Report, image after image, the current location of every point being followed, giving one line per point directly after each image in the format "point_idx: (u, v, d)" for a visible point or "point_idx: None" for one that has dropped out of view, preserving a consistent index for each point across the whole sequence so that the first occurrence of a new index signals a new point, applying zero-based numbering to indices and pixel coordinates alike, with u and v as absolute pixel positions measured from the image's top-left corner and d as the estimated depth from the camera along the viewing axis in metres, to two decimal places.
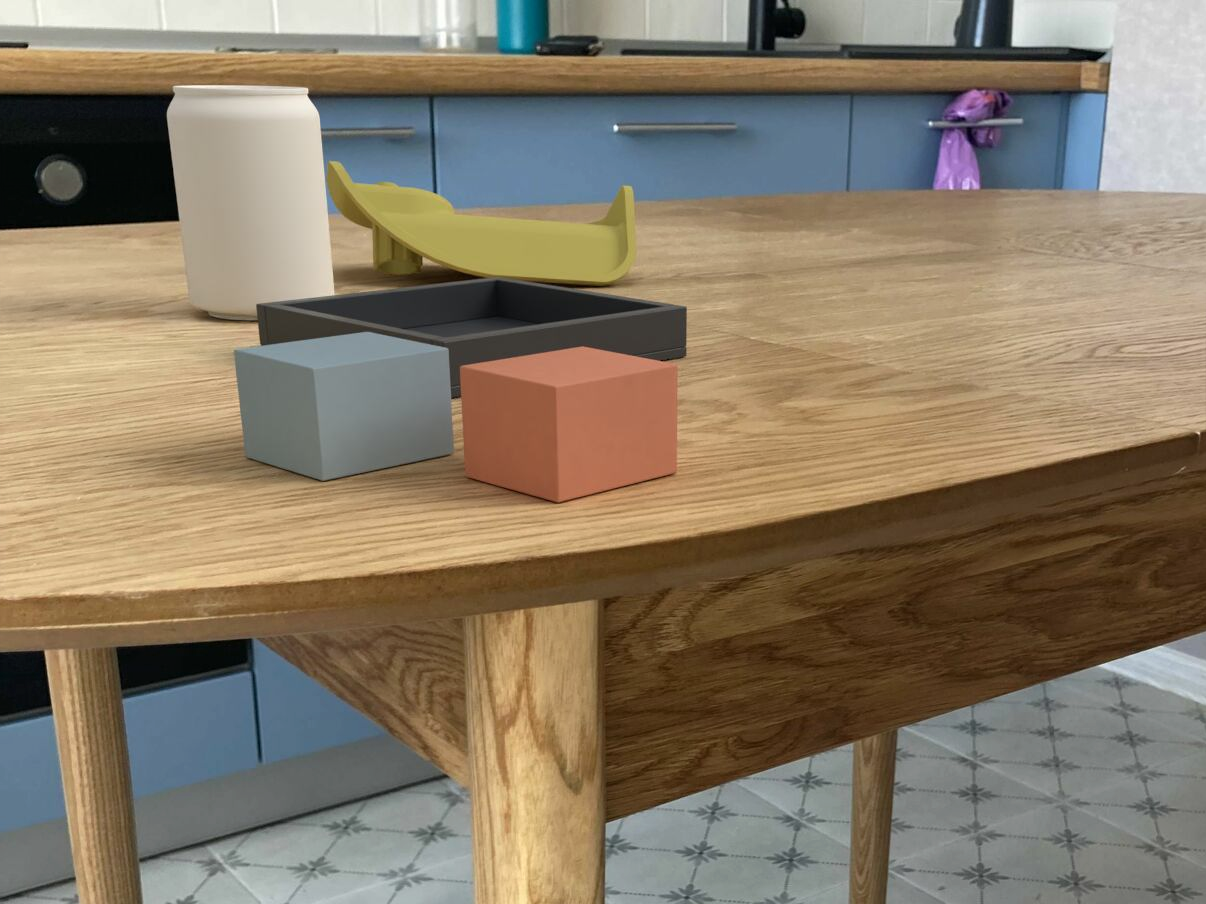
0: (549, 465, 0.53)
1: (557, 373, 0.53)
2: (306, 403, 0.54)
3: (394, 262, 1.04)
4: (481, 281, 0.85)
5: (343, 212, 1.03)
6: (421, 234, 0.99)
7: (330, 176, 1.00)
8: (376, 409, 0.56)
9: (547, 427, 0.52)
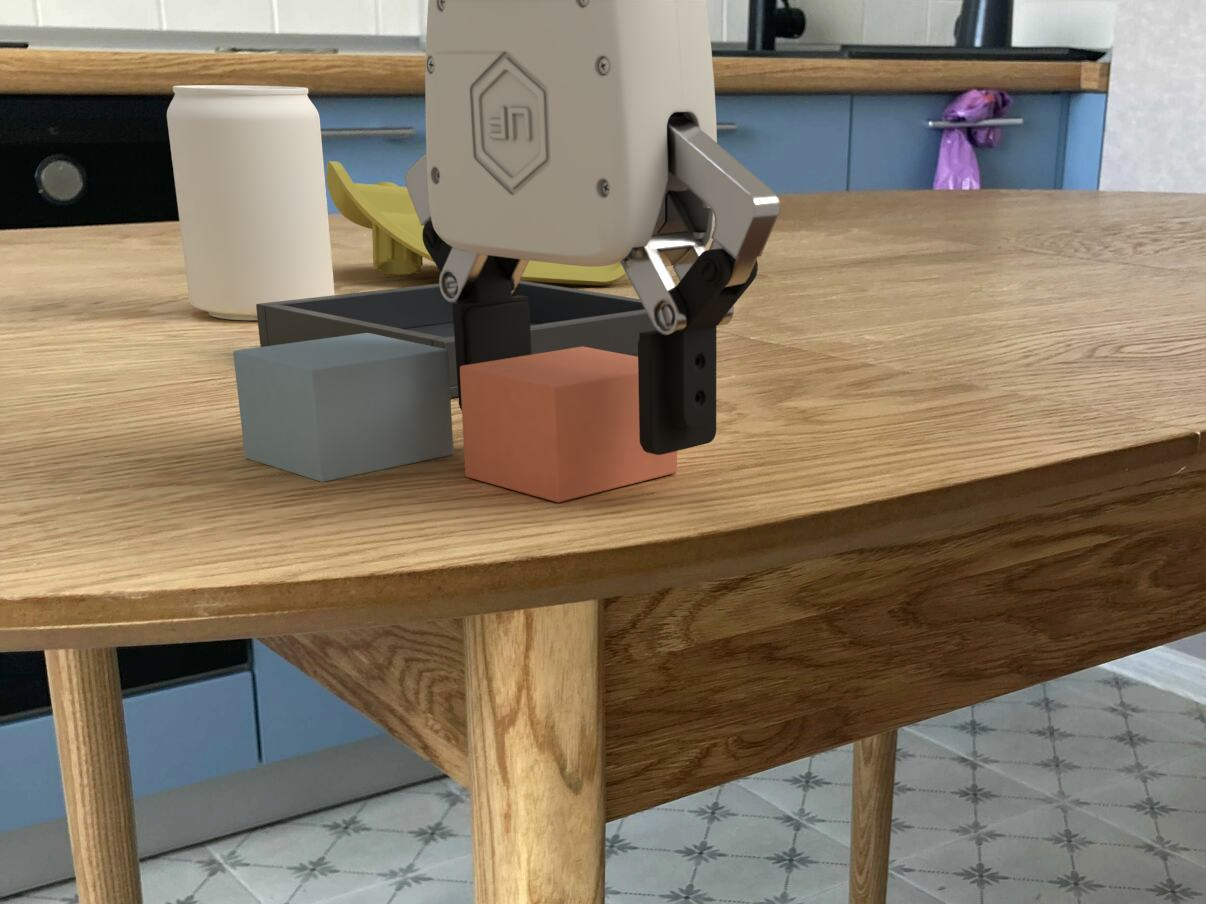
0: (549, 465, 0.53)
1: (557, 373, 0.53)
2: (305, 404, 0.54)
3: (394, 262, 1.04)
4: None
5: (343, 212, 1.03)
6: (421, 234, 0.99)
7: (330, 176, 1.00)
8: (375, 411, 0.56)
9: (547, 427, 0.52)
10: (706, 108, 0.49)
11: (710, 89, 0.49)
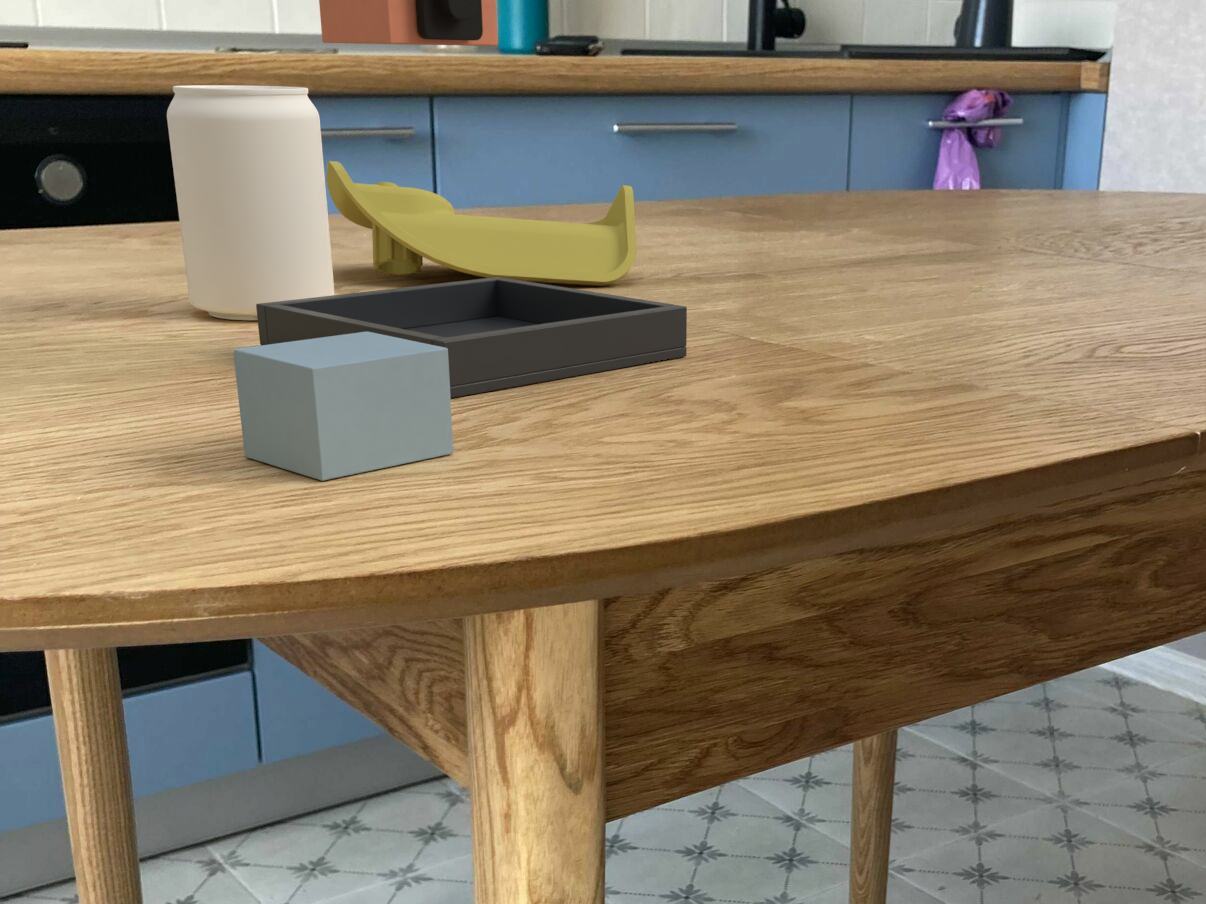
0: (382, 11, 0.65)
1: None
2: (305, 402, 0.54)
3: (394, 262, 1.04)
4: (481, 281, 0.85)
5: (343, 212, 1.03)
6: (421, 234, 0.99)
7: (330, 176, 1.00)
8: (375, 409, 0.56)
9: None
10: None
11: None
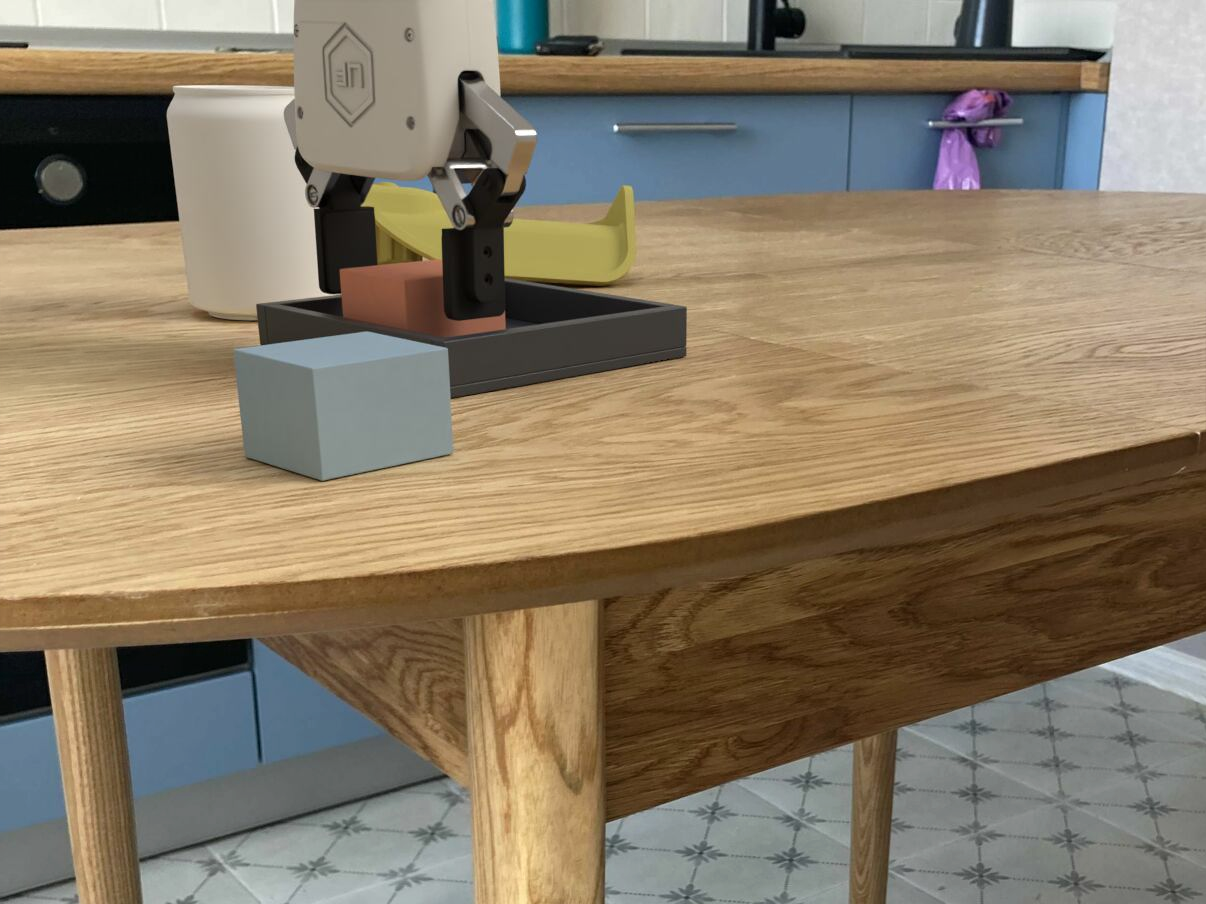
0: None
1: (409, 273, 0.72)
2: (305, 402, 0.54)
3: (394, 262, 1.04)
4: None
5: None
6: (421, 234, 0.99)
7: None
8: (375, 409, 0.56)
9: (400, 311, 0.71)
10: (490, 68, 0.68)
11: (494, 55, 0.68)
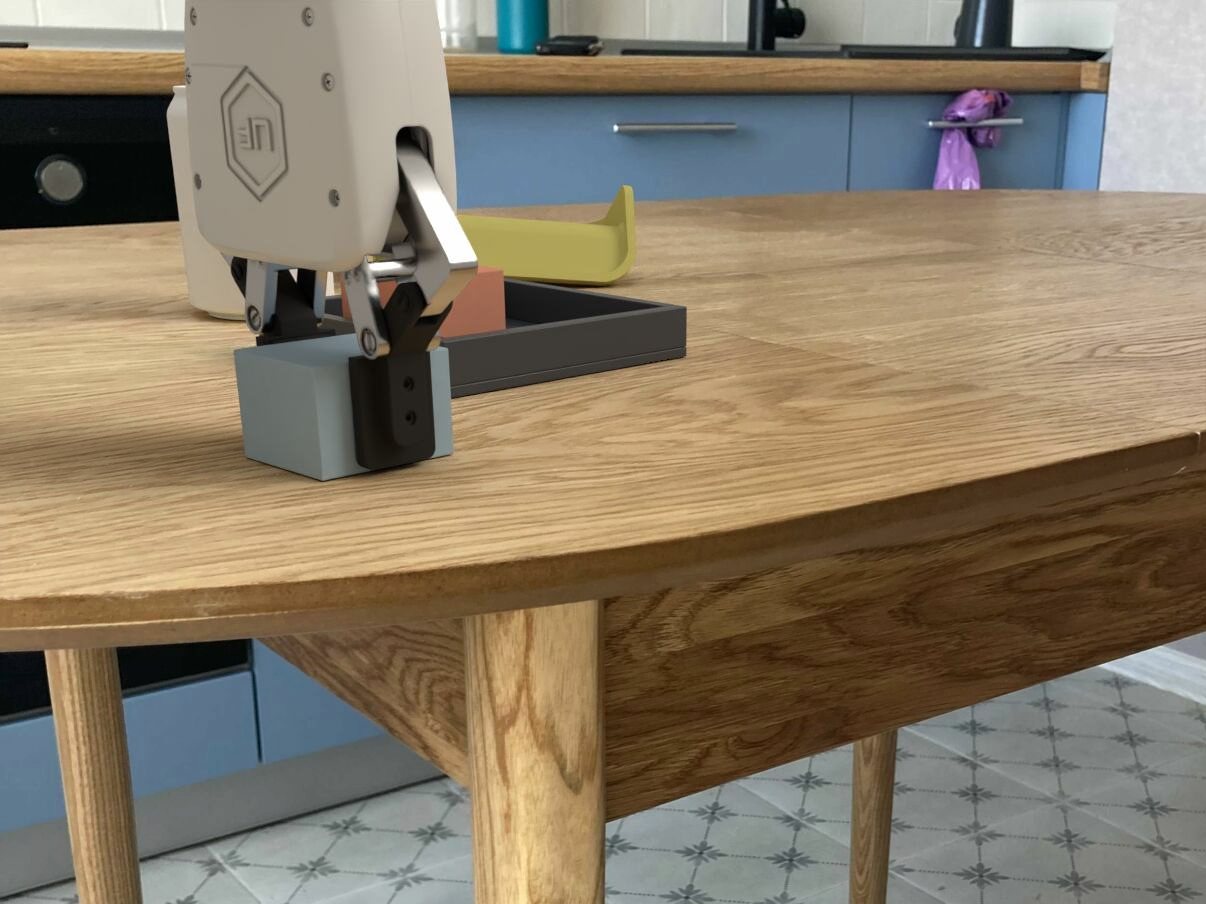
0: None
1: None
2: (306, 402, 0.54)
3: None
4: None
5: None
6: None
7: None
8: None
9: None
10: (440, 122, 0.52)
11: (444, 104, 0.52)
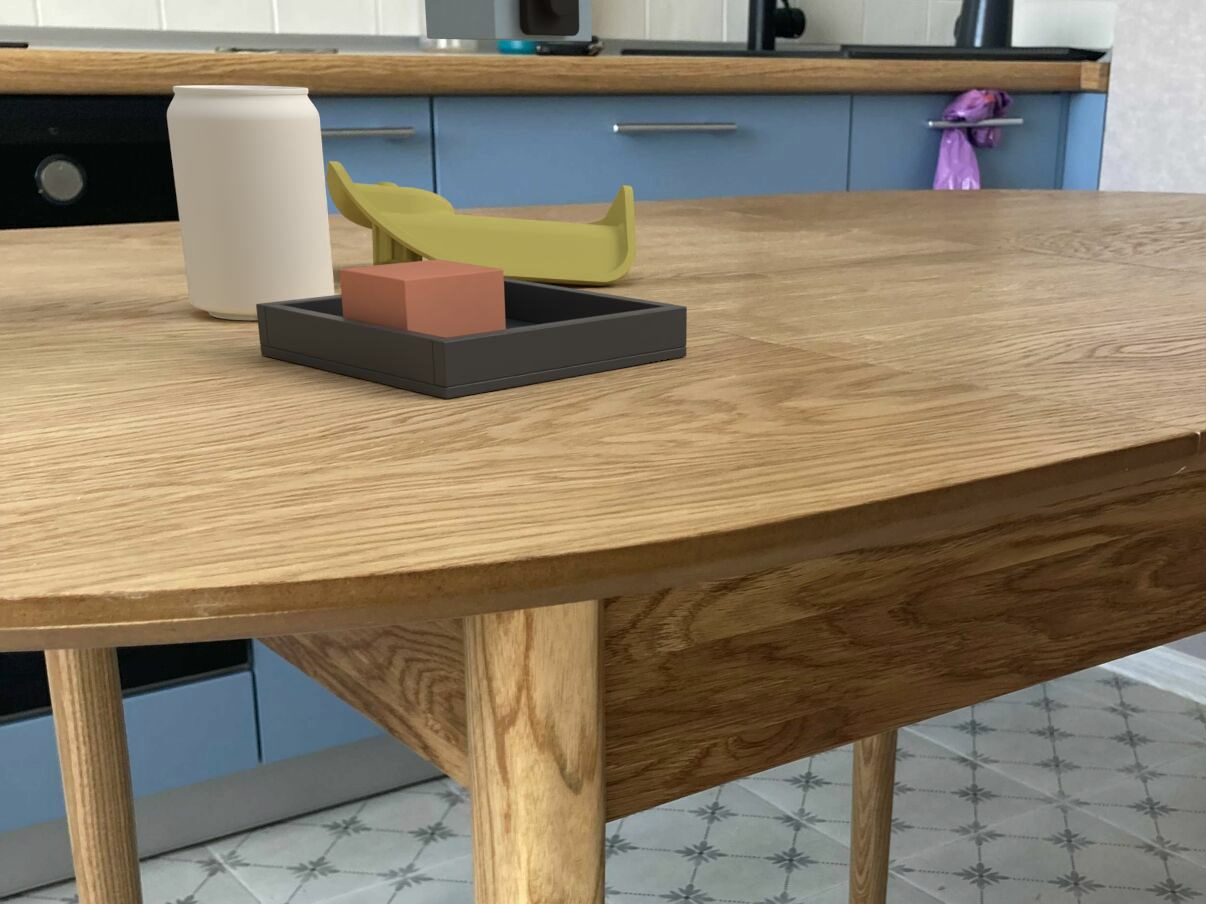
0: None
1: (409, 273, 0.72)
2: None
3: (394, 262, 1.04)
4: None
5: (343, 212, 1.03)
6: (421, 234, 0.99)
7: (330, 176, 1.00)
8: None
9: (400, 311, 0.71)
10: None
11: None
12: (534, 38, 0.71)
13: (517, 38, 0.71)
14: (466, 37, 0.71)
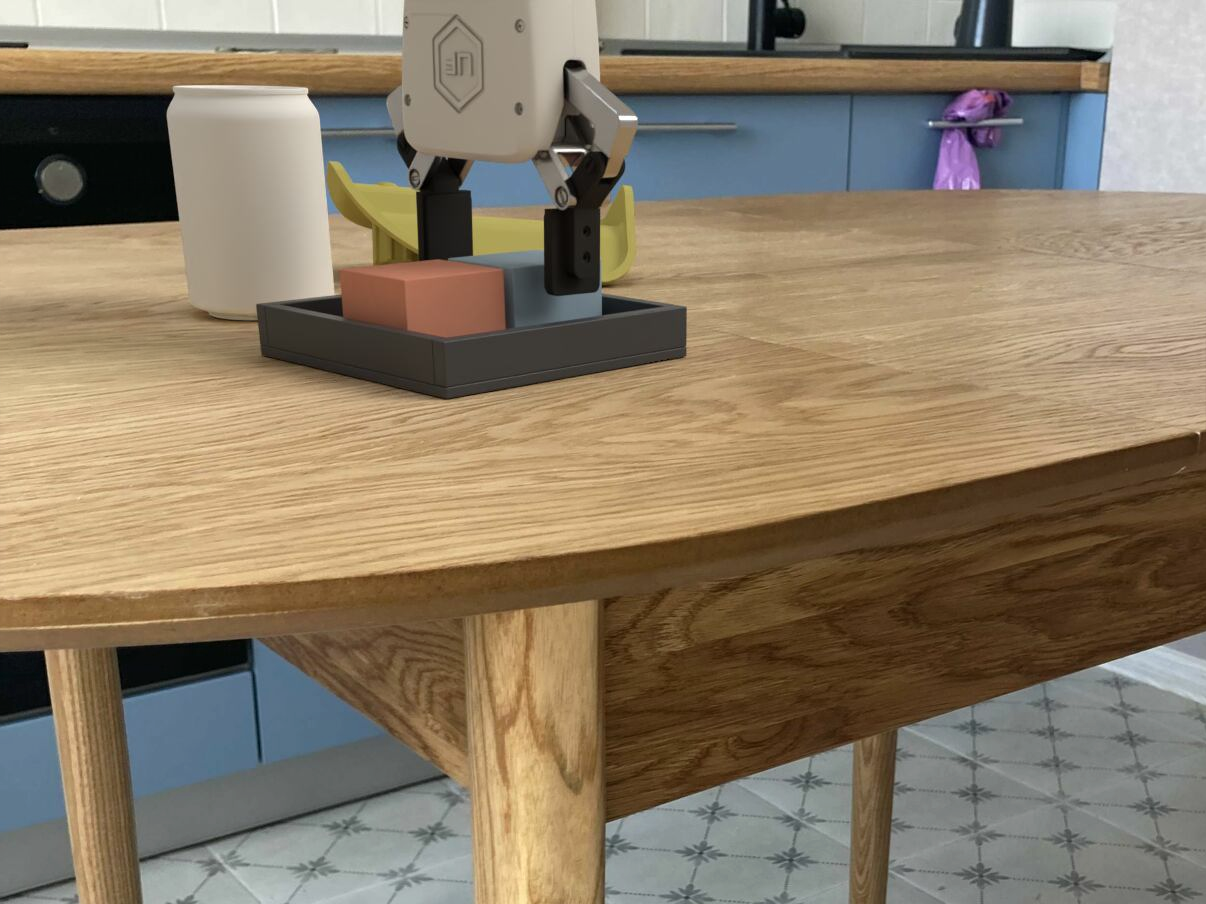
0: None
1: (409, 273, 0.72)
2: (506, 293, 0.76)
3: (394, 262, 1.04)
4: None
5: (343, 212, 1.03)
6: None
7: (330, 176, 1.00)
8: (552, 301, 0.77)
9: (400, 311, 0.71)
10: (592, 58, 0.73)
11: (595, 45, 0.73)
12: None
13: None
14: None
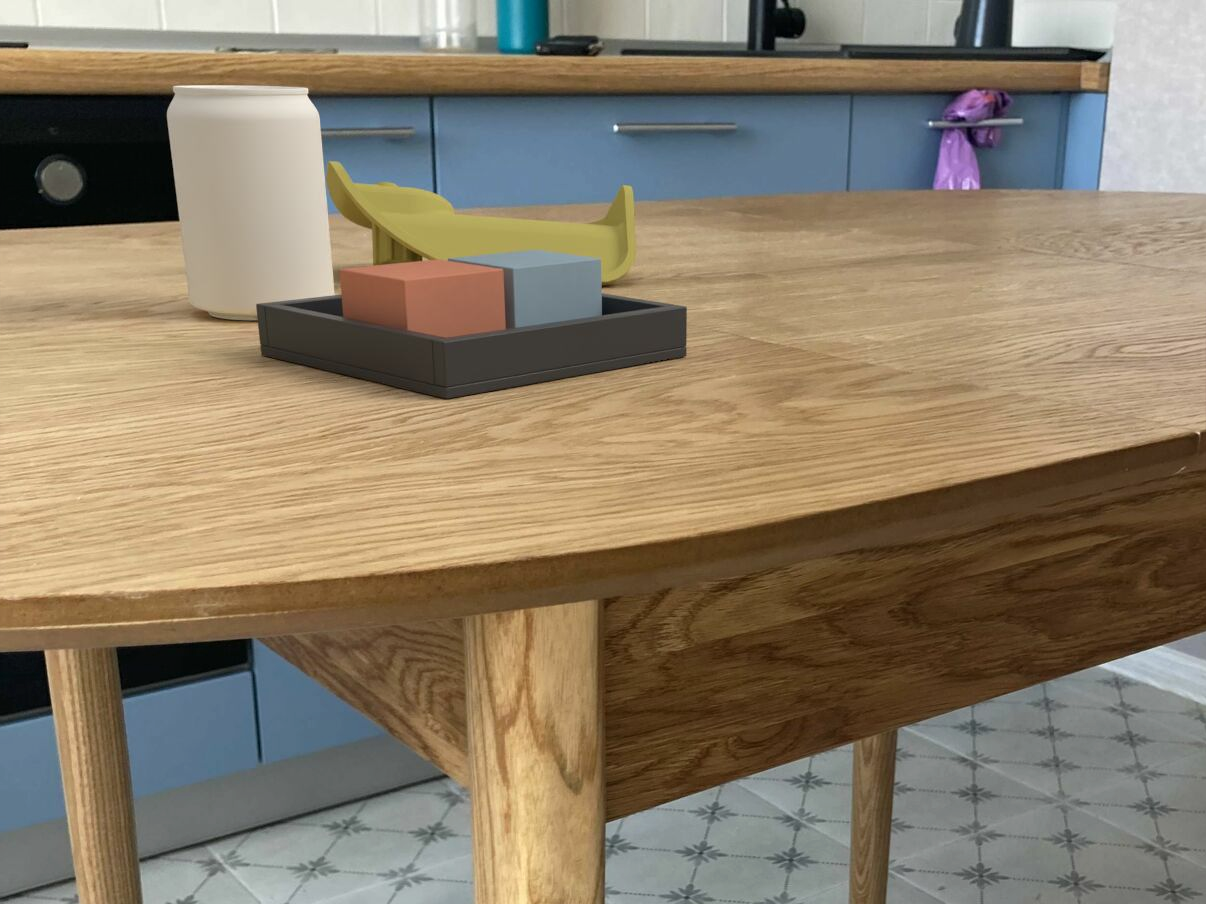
0: None
1: (409, 273, 0.72)
2: (506, 293, 0.76)
3: (394, 262, 1.04)
4: None
5: (343, 212, 1.03)
6: (421, 234, 0.99)
7: (330, 176, 1.00)
8: (552, 301, 0.77)
9: (400, 311, 0.71)
10: None
11: None
12: None
13: None
14: None
